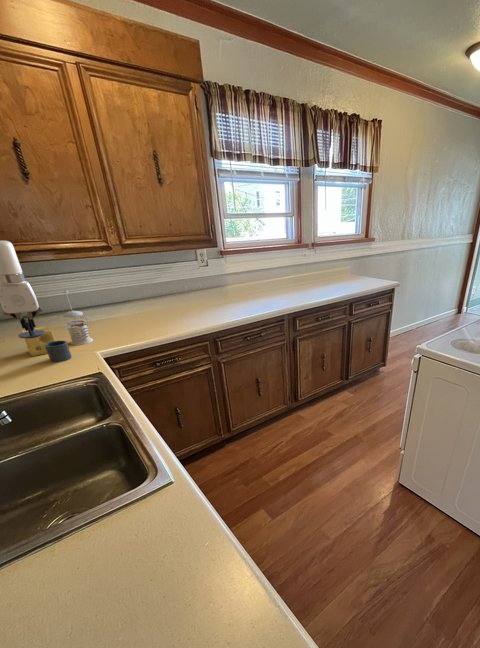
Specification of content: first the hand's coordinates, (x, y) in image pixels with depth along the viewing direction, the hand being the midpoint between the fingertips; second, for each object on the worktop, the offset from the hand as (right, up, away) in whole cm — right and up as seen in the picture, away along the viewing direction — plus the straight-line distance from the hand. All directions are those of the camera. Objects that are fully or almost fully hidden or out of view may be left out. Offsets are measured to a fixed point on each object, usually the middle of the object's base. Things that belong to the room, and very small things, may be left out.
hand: (30, 329), depth 122 cm
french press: (-6, +1, +40) cm, 40 cm away
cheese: (-17, -6, +28) cm, 33 cm away
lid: (0, -2, +1) cm, 2 cm away
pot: (-1, -10, +18) cm, 21 cm away
